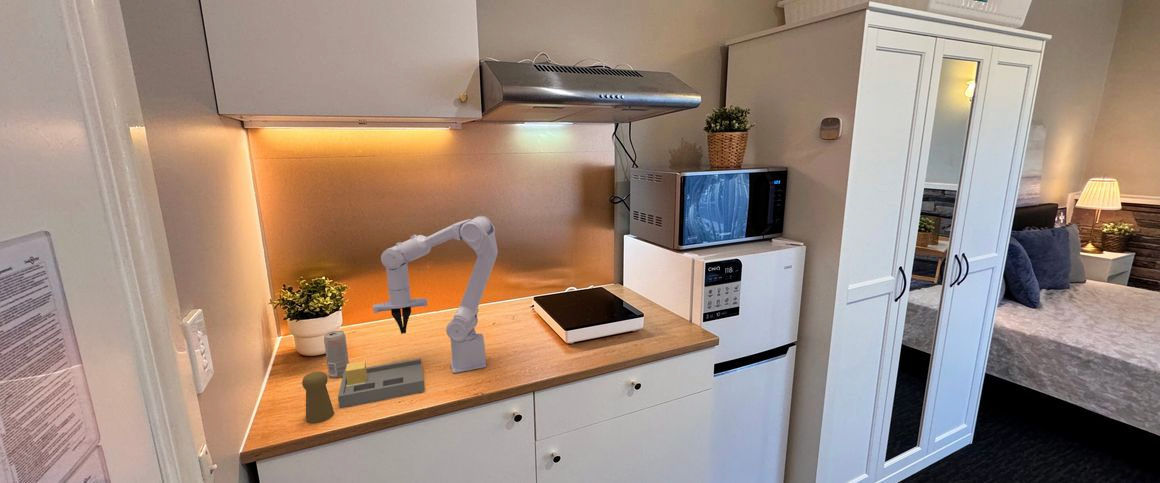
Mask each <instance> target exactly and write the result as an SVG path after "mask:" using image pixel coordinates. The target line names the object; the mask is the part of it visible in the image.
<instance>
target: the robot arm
mask: <svg viewBox="0 0 1160 483" xmlns="http://www.w3.org/2000/svg"><path fill="white" fill-rule="evenodd" d="M452 239H453V240H456V241H464V242H465V244H467V245H468V246H469V247H470V248H471V249H473V251H474V253H475V254H476V256H477V258H476V260H475V263H474V266H473V268H472V271H471V274H470V277H469V280H468V282H467V286H466V288H465V290H464V294H463V296H462V299H461V302H460V304H459V307H458V309H457V310H456V312H455V313H454V316H453V318H452V320H451V321H450V322H448V324H447V326H446V329H445V331H446V335H447V337H448V339H450V348H451V349H450V350H451V359H450V360H449V362H450V367H451V372H452V374H456V373H462V372H467V371H472V370H473V371H474V370H479V369H483V368H487V362H486V361H487V360H486V359H487V358H486V356H487V355H486V344H485V339H484V335H483V333H476V330H475V327H477V324H478V322H479V321H478V319H479V318H478V313H479V305H480V304H481V300H482V297H483V294H484V292H485V290H486V287H487V284H488V281H489V279H490V276H491V273H492V271H493V268H494V266H495V263H496V260H497V257H498V253H499V250H498V245H497V239H496V228H495V226H494V225H493V223H492V222H491V220H490V219H489V218H488V217H487V216H484V215H478V216H477V215H476V216H475V217H474V218H473V219H472V218H469V219H465V220H462V221H459V222H455V223H452V225H450V226H447V227H445V228H443V229H441V230H439V231H437V232H435V233H433V234H431V235H428V236H425V235H422V234H418V235H417V234H414V235H413V234H412V235H411V236H409V239H408V240H407V239H406V240H405V241H403V242H401V241H399V242H397V243H395V244H396V245H394V246H392V247H389V248H388V247H387V248H386V249H385V250H384V251H383V252H382V253H381V256H380V261H381V264H382V265H383V266H384V267H385V270H386V271H385V272H386V280H387V282H386V283H387V287H388V288H387V289H388V300H389V301H385V302H382V303H376V304H373V305H372V308H373V310H372V311H373V314H377V313H381V312H387V311H388V312H389V311H390V312H391V316H392V317H393V319H394V320H395V321H396V324H397V326H398V328H399V332H400V334H401V335H402V334H406V333H407V328H408V327H407V326H408V321H409V318H410V316H411V313H412V308H419V307H428V298H427V297H424V298H423V297H421V298H412V297H411V288H410V279H409V278H410V277H409V268H408V263H411V262H412V261H414V260H418V259H419V258H422V257H424V256H426V255H429V253H430V252H431V249H432V247H435V246H438V245H440V244H442V243H445V242H447V241H450V240H452Z"/></svg>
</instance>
